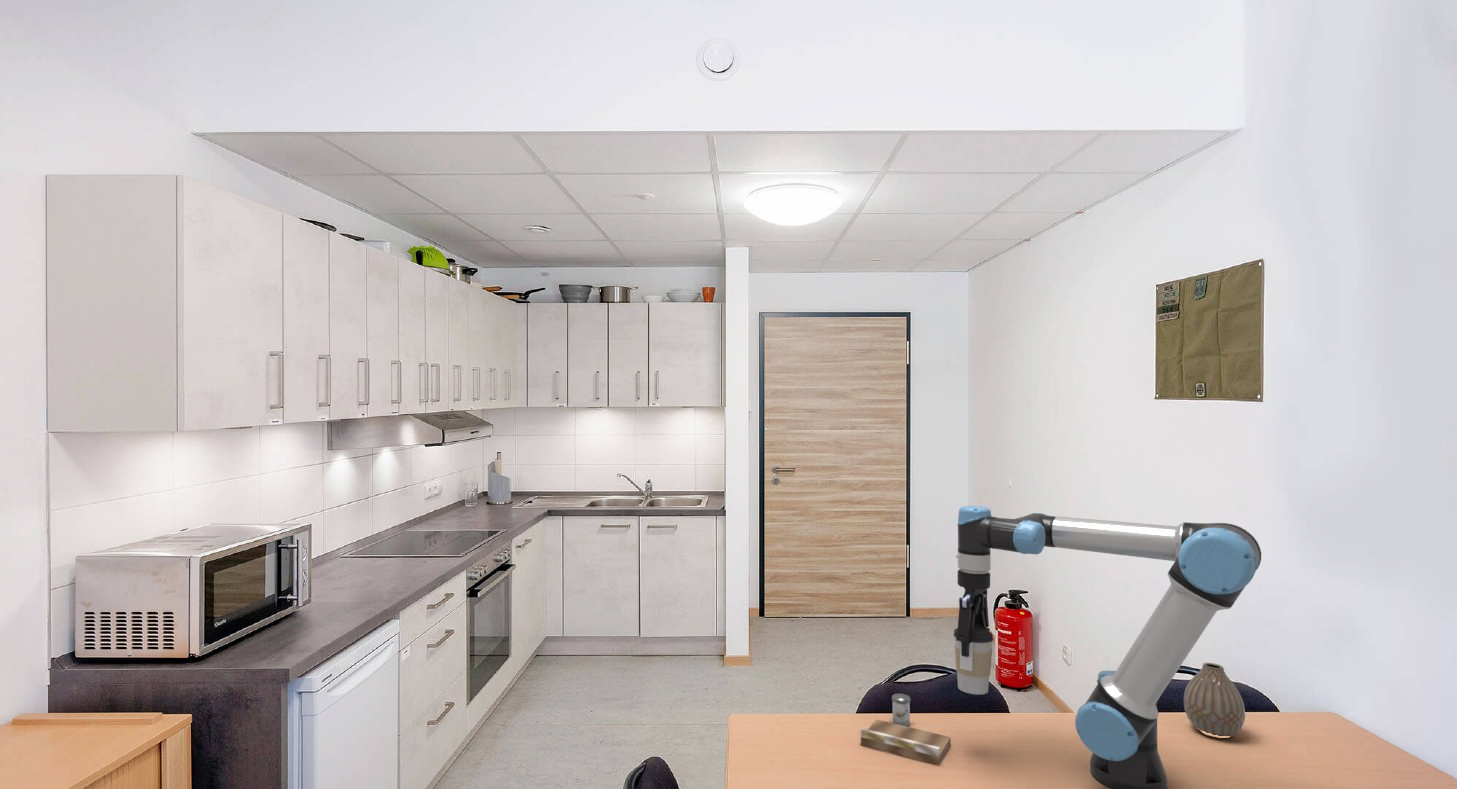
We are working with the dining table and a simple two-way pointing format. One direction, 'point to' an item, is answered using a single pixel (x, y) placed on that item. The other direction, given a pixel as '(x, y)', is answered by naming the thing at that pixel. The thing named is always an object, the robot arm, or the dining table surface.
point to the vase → (1214, 702)
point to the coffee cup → (976, 662)
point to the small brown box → (906, 741)
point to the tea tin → (901, 709)
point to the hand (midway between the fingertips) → (973, 663)
